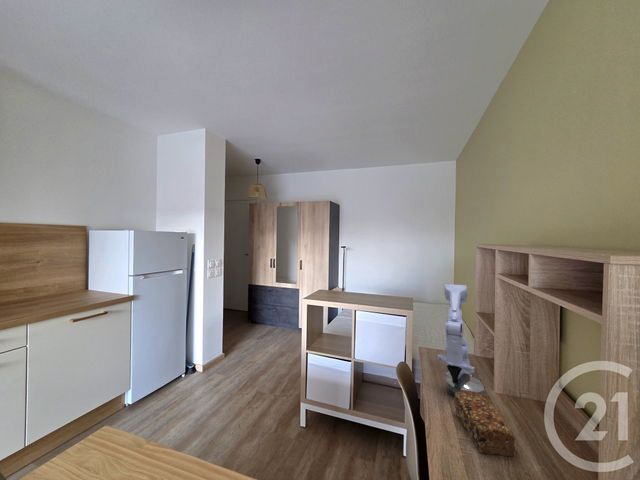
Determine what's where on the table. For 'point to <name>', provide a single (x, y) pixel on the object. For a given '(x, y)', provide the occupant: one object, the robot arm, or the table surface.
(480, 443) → the bread
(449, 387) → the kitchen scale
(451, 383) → the lid
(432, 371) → the table surface
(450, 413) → the table surface
